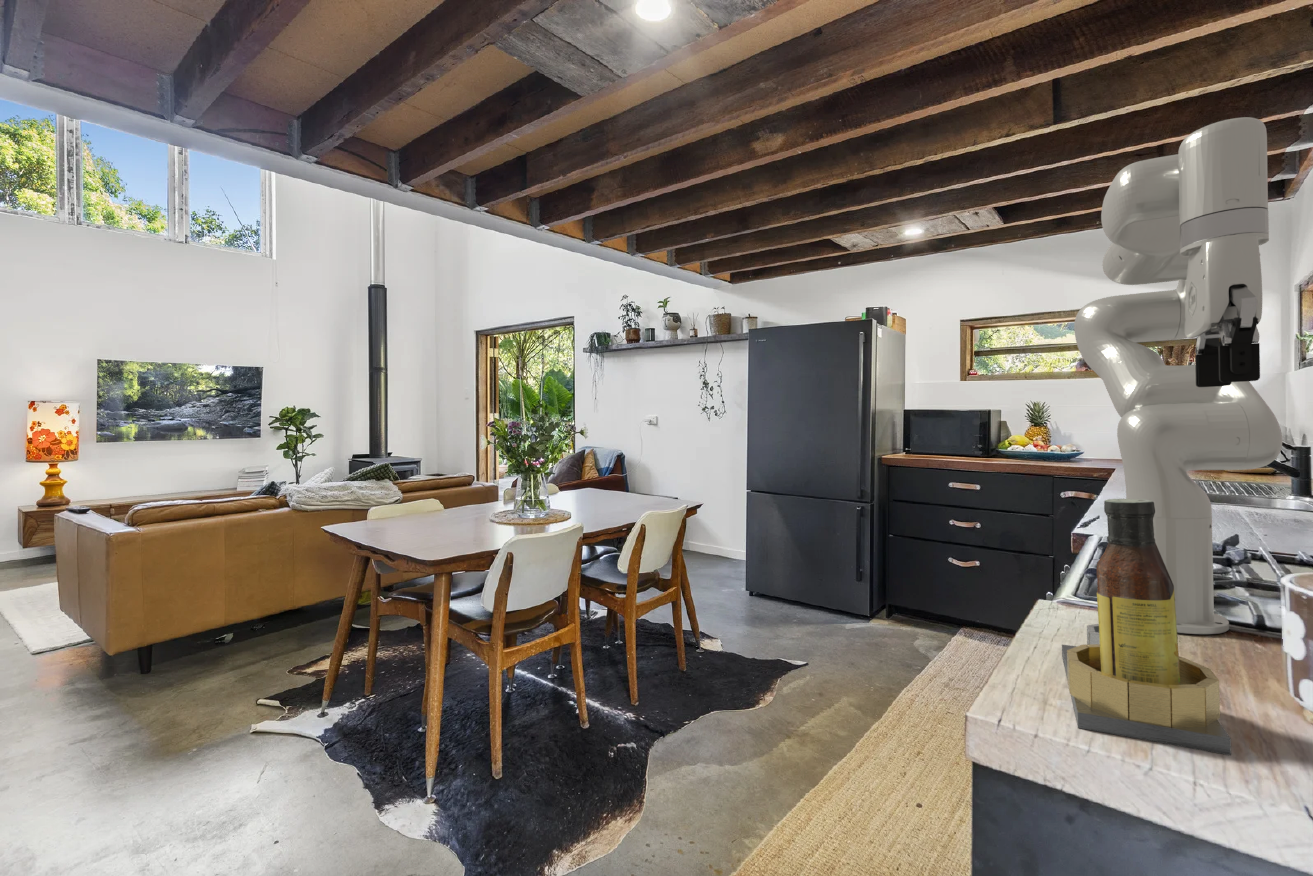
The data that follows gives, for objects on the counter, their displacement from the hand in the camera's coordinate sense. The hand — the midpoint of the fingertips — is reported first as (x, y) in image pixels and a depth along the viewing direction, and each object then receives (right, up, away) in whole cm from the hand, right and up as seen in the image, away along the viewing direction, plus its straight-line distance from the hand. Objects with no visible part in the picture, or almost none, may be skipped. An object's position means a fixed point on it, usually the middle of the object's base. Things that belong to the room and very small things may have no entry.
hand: (1225, 384), depth 71 cm
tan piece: (-15, -34, -6) cm, 37 cm away
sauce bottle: (-17, -33, -9) cm, 38 cm away
